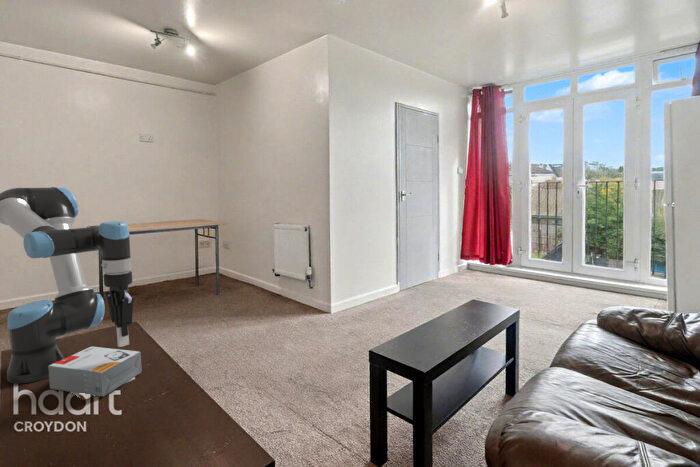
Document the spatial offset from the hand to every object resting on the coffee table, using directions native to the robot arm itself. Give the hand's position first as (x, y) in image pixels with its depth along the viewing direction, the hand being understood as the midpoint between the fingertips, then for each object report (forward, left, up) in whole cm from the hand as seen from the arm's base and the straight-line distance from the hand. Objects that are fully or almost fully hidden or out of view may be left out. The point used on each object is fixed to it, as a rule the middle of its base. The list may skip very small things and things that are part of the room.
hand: (123, 345), depth 119 cm
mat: (-7, -5, -12) cm, 15 cm away
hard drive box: (+2, -1, -8) cm, 8 cm away
